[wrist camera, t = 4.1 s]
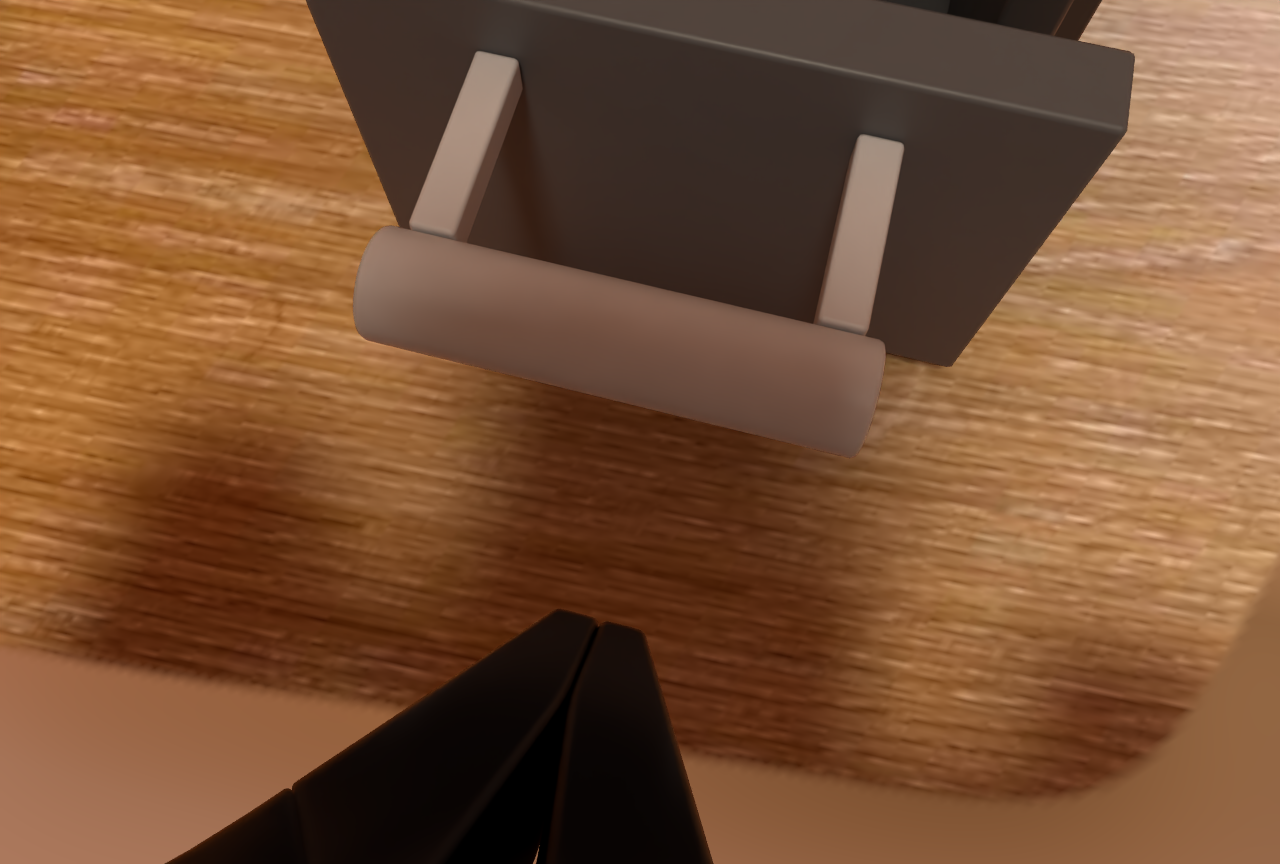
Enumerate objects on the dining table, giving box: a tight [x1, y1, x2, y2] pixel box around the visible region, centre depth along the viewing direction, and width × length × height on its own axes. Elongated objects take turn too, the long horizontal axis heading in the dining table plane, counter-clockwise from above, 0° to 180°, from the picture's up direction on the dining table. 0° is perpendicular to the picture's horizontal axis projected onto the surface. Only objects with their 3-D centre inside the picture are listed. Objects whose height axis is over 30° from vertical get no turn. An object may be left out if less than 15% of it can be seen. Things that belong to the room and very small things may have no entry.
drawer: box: [306, 0, 1135, 458], centre depth 16 cm, size 16×10×7 cm, turn 165°
